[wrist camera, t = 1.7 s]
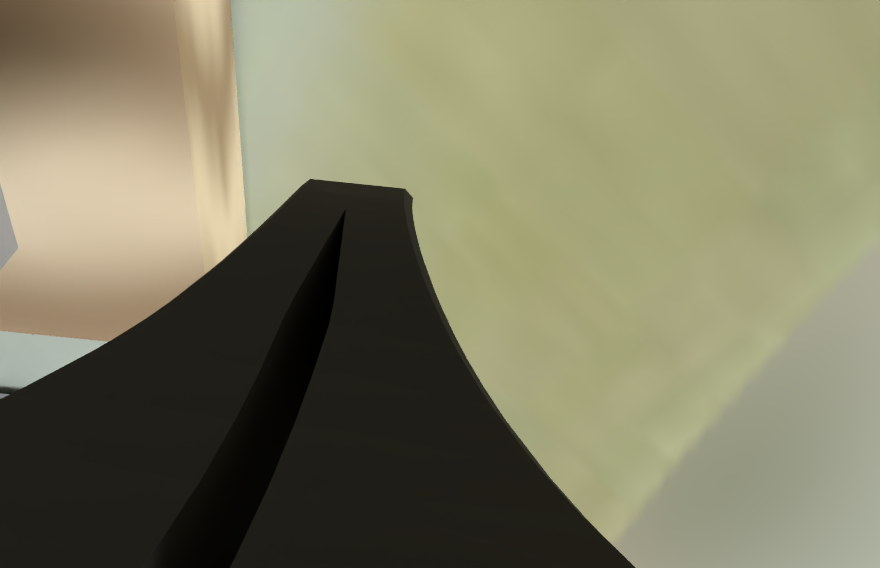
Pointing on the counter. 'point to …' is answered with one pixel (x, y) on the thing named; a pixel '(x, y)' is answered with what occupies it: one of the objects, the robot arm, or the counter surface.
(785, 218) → the counter surface
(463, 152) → the counter surface
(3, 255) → the slate tile
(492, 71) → the counter surface
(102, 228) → the birch deck
